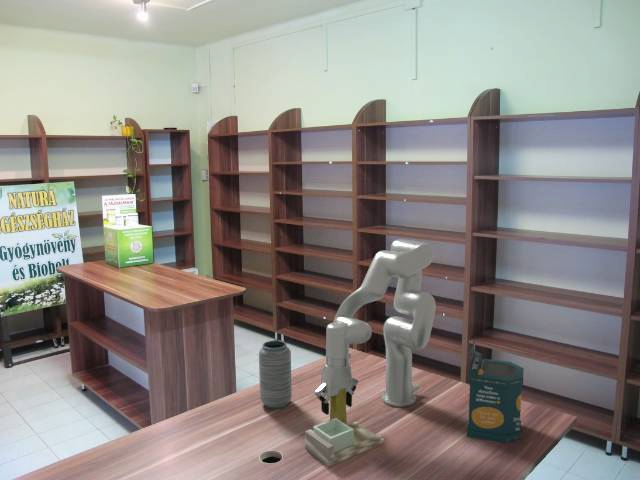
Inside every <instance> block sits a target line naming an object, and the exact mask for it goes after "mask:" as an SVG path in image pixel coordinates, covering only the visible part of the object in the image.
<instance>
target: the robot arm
mask: <svg viewBox="0 0 640 480" xmlns="http://www.w3.org/2000/svg"><path fill="white" fill-rule="evenodd" d="M434 258H435V250H434V247H433V246H432V245H431V244H429V243H428V242H424V241H419V240H418V241H417V240H411V239H406V238H405V239H404V238H401V239H395V240H393V242H392V243H391V246H390V250H387V249H386V250H385V249H384V250H379V251H378V252H377V253H375V255H374V257H373V260H372V261H371V263H370V266H369V267H368V270H367V272H366V273H365V277H364V279H363V281H362V283H361V285H360V287H359V288H358V289H356V290H355V291H353V292H352V293H351V294H350V295H348V296H347V297H346V298H345V299H344V300H343V302H342V303H341V304H340V306H339V307H338V310H337V312H336V314H335V316H334V319H333V322H330V323H329V324H327V326H326V332H325V333H326V337H325V338H326V339H325V352H326V353H325V364H324V365H323V367H322V372H321V382H320V386H319V387H318V388H317V389H316V390H315V391H314V393H315V396H316V398H317V399H318V400H319V401H320V402H321V403H320V404H321V406H320V407H321V409H320V410H321V412H322V413H324V414H325V415H326V416H327V415H330V397H332V396H335V395H338V394H339V390H340V389H343V388H346V407H349V408H352V406H353V396H354V394H355V393H354V392H355V391H356V389H357V385H358V383H359V380H358V379H356V378H354V377H352V375H353V373H352V367H351V363H350V361H349V360H350V358H351V354H350V345H357V344H358V345H359V344H364V343H367V341H369V340H370V338H371V337H372V334H373V329H372V327H371V325H370V324H369V323H368V322H365V321H364V320H360V319H359V318H358V319H357V318H355V317H354V315H355V314H356V312H357V311H358V310H359V309H360V308H361V307H363V306H364V305H367V304H369V303H373V302H375V301H381V300H382V299H383V298H384V296H385V294H386V292H387V290H388V288H389V285H390V283H391V280H392V278H393V277H395V278H398V280H397V284H396V290H395V293H394V299H393V307H394V310H395V311H396V312H397V313H401V314H403V315H406V316H409V317H413V320H411V319H410V318H409V319H408V318H405V317H401V316H395V315H394V316H390V317H388V318H387V319H386V320H385V322H384V324H383V328H382V329H383V330H382V331H383V339H384V344H385V391H384V392H383V393H382V394H381V401H382V402H383V404H386V405H388V406H392V407H409V406H412V405H413V404H415V403H416V400H417V398H416V395H415V394H414V392H415V391H418V390H420V389H421V385H420V384H419V383H417V384H415V385H414V384H413V383H412V379H413V378H412V376H413V375H412V374H413V372H412V371H413V370H412V369H413V353H412V350H416V351H420V350H423V349H424V348H426V346H427V345H428V343H429V340H430V338H431V333H432V329H433V324H434V320H435V315H436V310H437V305H436V300H435V298H434V296H433V295H432V294H430V293H428V292H425V291H421V288H422V282H423V272H422V270H424V269H425V268H427V267H429V266H430V264H432V262H433V261H434Z"/></svg>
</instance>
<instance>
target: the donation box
mask: <svg viewBox="0 0 640 480" xmlns="http://www.w3.org/2000/svg"><path fill="white" fill-rule="evenodd" d="M482 356H483V354H482V353H480V352H478V351H476V339H475V338H474V339H473V342H472V346H471V349H470V352H469V364H468V365H469V366H468V367H469V369H468V384H469V397H468V398H469V400H468V402H469V403H468V404H469V405H468V406H469V407H468V424H467V428H466V429H467V431H466V437H467V438H473V439H481V440H485V441H492V442H497V443H502V444H503V443H504V444H508V443H511V442H514V441H517V440H520V439H521V431H522V429H521V428H522V421H521V412H522V411H521V410H522V408H521V407H522V388H523V387H522V386H523V385H524V374H525V373H524V369H525V368H524V367H522V366H520V365H518V364H516V363H513V362H511V361H507V360H499V359H497V360H496V359H490V358H489V359H487V358H482Z"/></svg>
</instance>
